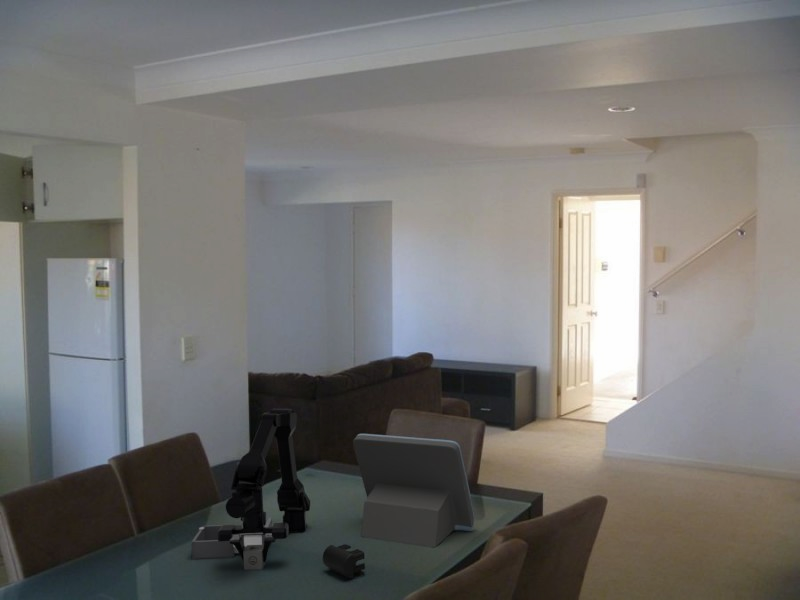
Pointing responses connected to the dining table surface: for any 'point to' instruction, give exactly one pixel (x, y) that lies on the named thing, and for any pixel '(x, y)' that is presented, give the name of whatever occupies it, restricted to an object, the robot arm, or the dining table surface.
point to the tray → (255, 537)
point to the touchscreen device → (413, 489)
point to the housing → (211, 544)
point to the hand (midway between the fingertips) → (255, 562)
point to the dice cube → (253, 557)
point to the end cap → (344, 560)
